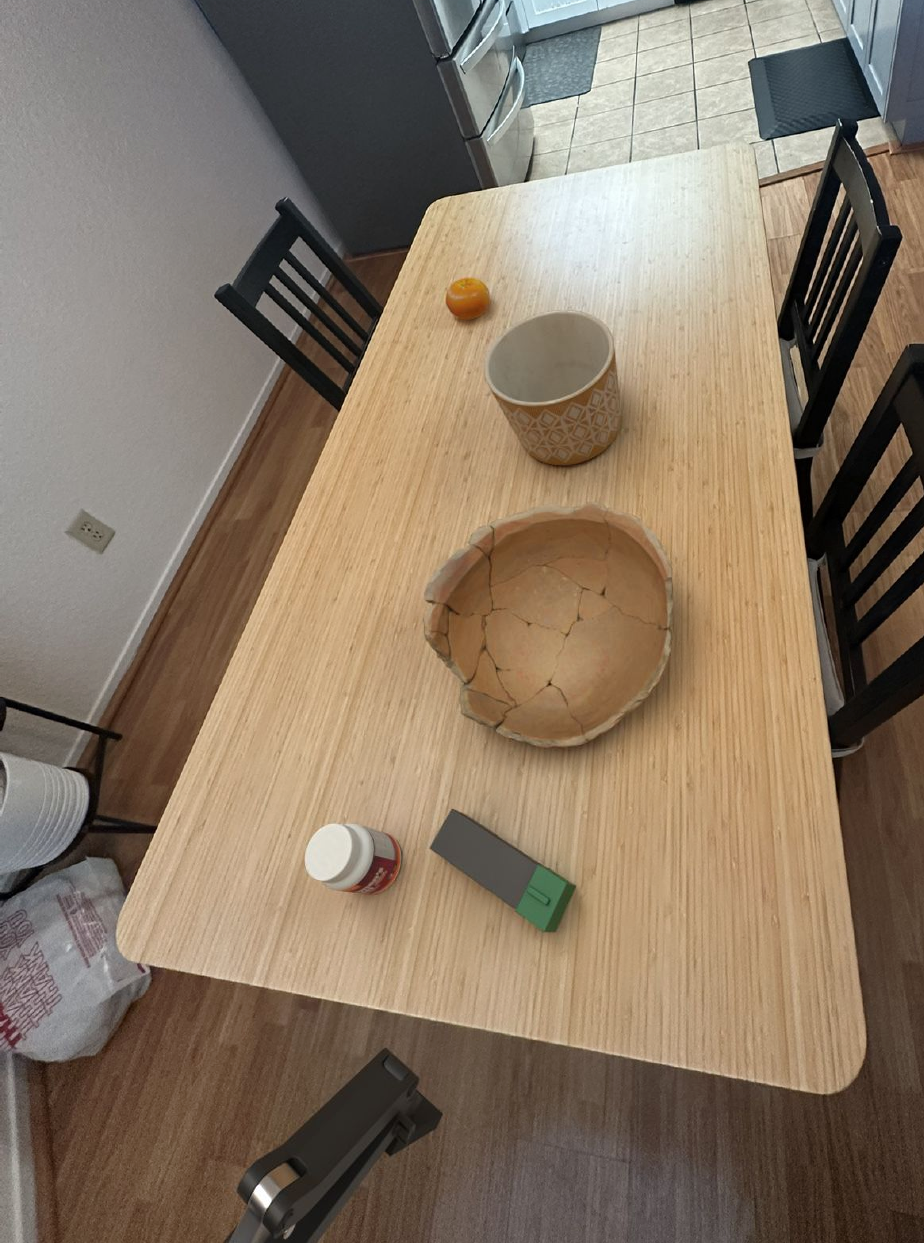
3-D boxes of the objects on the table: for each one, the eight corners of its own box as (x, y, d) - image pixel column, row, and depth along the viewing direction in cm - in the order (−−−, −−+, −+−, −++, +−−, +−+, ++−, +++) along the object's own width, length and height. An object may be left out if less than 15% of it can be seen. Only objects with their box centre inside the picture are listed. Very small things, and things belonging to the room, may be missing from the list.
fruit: (500, 282, 127) (467, 263, 121) (493, 321, 125) (460, 304, 119) (475, 293, 133) (442, 275, 127) (468, 331, 131) (435, 315, 125)
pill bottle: (365, 908, 71) (311, 903, 62) (344, 856, 75) (290, 845, 66) (412, 869, 72) (365, 859, 63) (389, 820, 76) (342, 804, 67)
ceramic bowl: (497, 805, 72) (447, 750, 62) (442, 629, 92) (397, 565, 82) (727, 679, 76) (713, 608, 66) (626, 535, 96) (604, 463, 86)
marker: (443, 853, 73) (425, 848, 68) (465, 813, 75) (449, 805, 70) (555, 932, 66) (542, 931, 62) (576, 886, 68) (565, 882, 64)
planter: (562, 496, 98) (535, 427, 85) (492, 432, 108) (459, 362, 95) (654, 422, 102) (642, 346, 89) (579, 367, 113) (558, 292, 100)
